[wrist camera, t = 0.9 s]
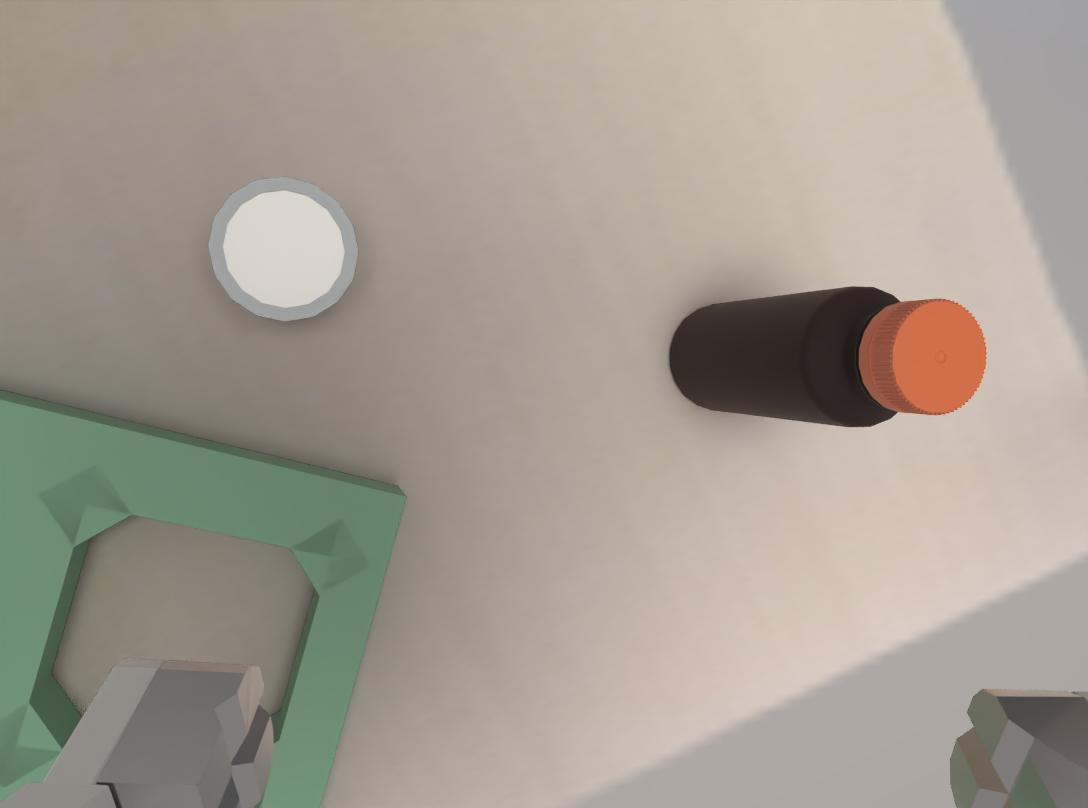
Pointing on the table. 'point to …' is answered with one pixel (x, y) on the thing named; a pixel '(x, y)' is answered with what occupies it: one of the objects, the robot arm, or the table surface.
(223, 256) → the white cup
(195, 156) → the table surface
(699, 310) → the bottle
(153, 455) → the green cutout tray
